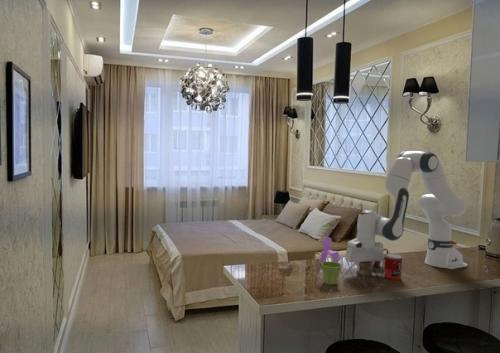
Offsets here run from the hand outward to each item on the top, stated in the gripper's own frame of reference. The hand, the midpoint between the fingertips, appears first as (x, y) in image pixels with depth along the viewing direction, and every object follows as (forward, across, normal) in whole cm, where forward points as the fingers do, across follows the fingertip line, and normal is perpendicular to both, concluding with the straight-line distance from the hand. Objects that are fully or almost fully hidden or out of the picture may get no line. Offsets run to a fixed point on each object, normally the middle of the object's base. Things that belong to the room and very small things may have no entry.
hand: (364, 269), depth 196 cm
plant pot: (+2, +24, +9) cm, 26 cm away
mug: (+2, -15, -11) cm, 19 cm away
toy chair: (+2, +10, -18) cm, 21 cm away
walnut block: (+2, 0, 0) cm, 2 cm away
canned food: (+2, -10, +9) cm, 14 cm away
